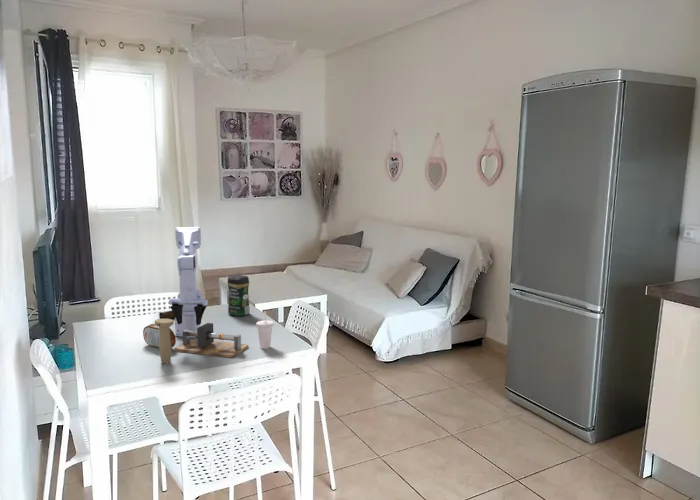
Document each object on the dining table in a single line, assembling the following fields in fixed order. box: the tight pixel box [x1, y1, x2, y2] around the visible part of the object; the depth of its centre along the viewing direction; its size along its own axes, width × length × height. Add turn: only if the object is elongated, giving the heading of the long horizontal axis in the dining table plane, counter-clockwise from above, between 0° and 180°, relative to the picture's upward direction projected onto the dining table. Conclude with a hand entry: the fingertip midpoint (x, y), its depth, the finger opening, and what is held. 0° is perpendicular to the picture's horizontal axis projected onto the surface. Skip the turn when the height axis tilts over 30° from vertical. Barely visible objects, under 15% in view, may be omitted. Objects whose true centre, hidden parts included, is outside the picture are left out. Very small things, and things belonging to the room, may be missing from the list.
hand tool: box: [158, 310, 175, 319], centre depth 243 cm, size 19×4×5 cm, turn 135°
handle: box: [154, 318, 175, 365], centre depth 186 cm, size 5×6×15 cm
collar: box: [196, 322, 215, 348], centre depth 200 cm, size 2×7×7 cm, turn 164°
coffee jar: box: [227, 273, 251, 317], centre depth 246 cm, size 10×8×19 cm
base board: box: [174, 338, 249, 359], centre depth 201 cm, size 24×12×1 cm, turn 74°
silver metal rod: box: [182, 329, 242, 351], centre depth 200 cm, size 23×2×5 cm, turn 74°
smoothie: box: [256, 311, 274, 350], centre depth 202 cm, size 6×6×14 cm
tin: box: [142, 323, 177, 349], centre depth 202 cm, size 15×3×8 cm, turn 61°
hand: (189, 324), depth 199 cm, fingers open, 7 cm apart
